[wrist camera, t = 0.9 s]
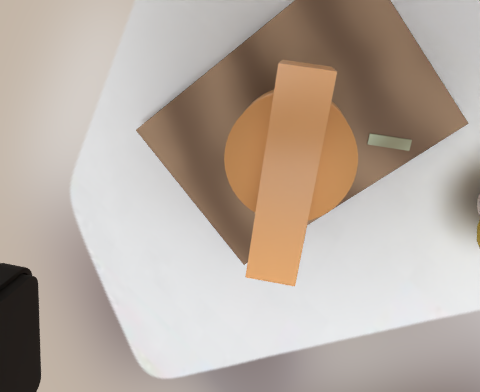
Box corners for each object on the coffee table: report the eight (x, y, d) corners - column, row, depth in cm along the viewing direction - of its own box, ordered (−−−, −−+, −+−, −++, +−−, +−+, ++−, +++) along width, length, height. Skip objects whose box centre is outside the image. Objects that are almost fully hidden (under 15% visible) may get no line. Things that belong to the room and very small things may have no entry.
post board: (354, -46, 31) (370, -74, 23) (459, 118, 34) (504, 140, 26) (144, 125, 37) (103, 146, 29) (246, 254, 39) (233, 304, 32)
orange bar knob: (246, 51, 26) (223, 55, 19) (367, 68, 25) (394, 79, 18) (224, 219, 30) (197, 279, 22) (330, 237, 29) (340, 305, 21)
